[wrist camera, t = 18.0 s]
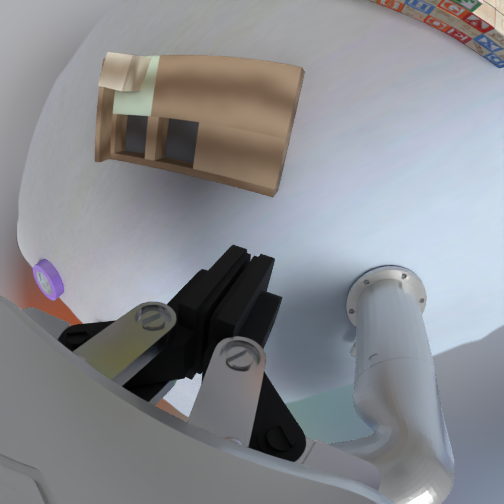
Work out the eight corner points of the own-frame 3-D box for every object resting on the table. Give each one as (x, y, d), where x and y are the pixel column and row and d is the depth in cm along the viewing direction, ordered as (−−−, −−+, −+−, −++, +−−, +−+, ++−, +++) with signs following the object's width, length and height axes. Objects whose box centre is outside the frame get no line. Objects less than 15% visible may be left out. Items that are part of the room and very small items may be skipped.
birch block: (140, 91, 31) (121, 91, 28) (117, 85, 31) (97, 85, 28) (151, 58, 28) (132, 55, 25) (126, 54, 29) (107, 51, 25)
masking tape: (59, 266, 61) (49, 273, 58) (68, 299, 67) (59, 306, 64) (38, 253, 63) (29, 259, 60) (46, 284, 69) (38, 291, 66)
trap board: (277, 190, 36) (267, 203, 31) (118, 154, 40) (94, 161, 35) (304, 71, 27) (298, 62, 23) (128, 60, 32) (103, 58, 27)
